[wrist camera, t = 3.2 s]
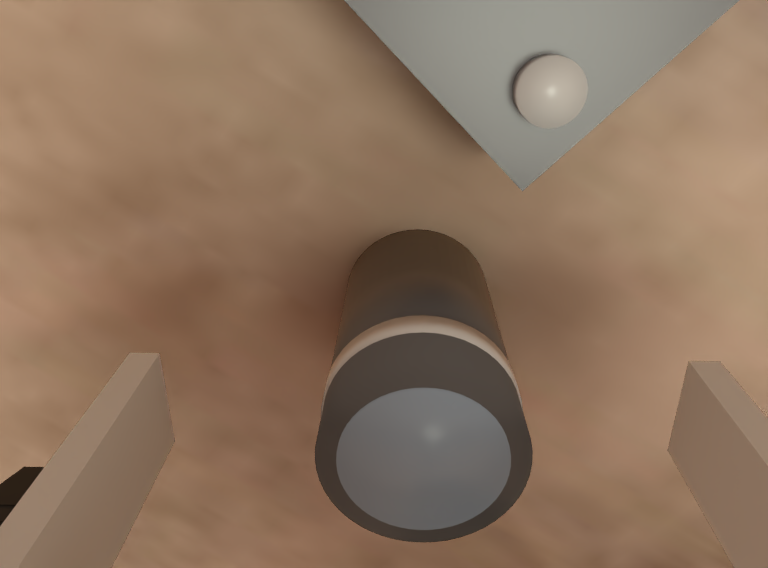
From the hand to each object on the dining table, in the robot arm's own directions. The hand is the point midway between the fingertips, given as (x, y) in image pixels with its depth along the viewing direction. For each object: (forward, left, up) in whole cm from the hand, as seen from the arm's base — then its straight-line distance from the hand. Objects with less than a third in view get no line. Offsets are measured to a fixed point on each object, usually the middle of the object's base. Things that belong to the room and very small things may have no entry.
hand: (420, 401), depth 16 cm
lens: (0, 0, -7) cm, 7 cm away
